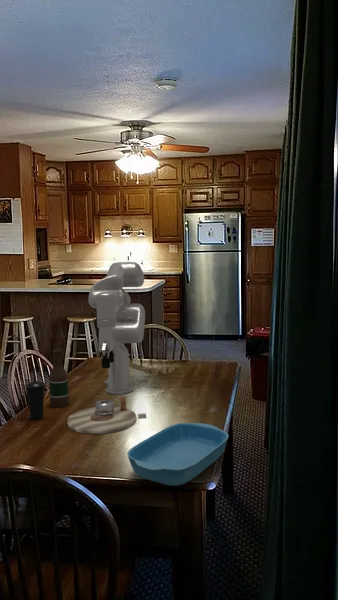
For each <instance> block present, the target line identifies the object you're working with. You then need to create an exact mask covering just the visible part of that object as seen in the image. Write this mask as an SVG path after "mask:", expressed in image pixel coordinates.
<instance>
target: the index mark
mask: <svg viewBox="0 0 338 600" xmlns="http://www.w3.org/2000/svg"><path fill="white" fill-rule="evenodd" d="M137 418H138V419H147V413H146V412H143V413H137Z"/></svg>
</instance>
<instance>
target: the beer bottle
mask: <svg viewBox="0 0 338 600" xmlns="http://www.w3.org/2000/svg"><path fill="white" fill-rule="evenodd" d="M62 352H63V351H62V349H61V348H54V349H52V354H53V358H52V359H53V360H52V369H51V370H50V373H49V376H48V386H49V389H48V390H49V403H50V407H51V408H54V409H62V408H65V407H68V406H69V403H70V402H69V401H70V398H69V397H70V396H69V379H68V373H67V371H66V370H65V369H64V366H63V359H62V357H63V356H62Z"/></svg>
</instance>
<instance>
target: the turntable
mask: <svg viewBox="0 0 338 600" xmlns="http://www.w3.org/2000/svg"><path fill="white" fill-rule="evenodd" d="M95 410H96V407H95V406H93V407H88V408H84V409H81V410H78V411H75V412H73V413H72V414H70V415H69V416H68V417H67V420H66V421H67V427H68V428H69V429H70V430H72V431H74V432H77V433H80V434H87V435H88V434H89V435H102V434H103V435H104V434H111V433H116V432H120V431H124V430H126V429H129V428H131V427H132V426H134V424H136V421H137V414H136V412H134V411H133V410H131V409H129V408H127V397H126V396H121V397H120V406H114V413H113V414H111V415H107V416H99V415H96V414H95Z"/></svg>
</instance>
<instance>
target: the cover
mask: <svg viewBox="0 0 338 600" xmlns="http://www.w3.org/2000/svg"><path fill="white" fill-rule="evenodd" d="M94 403H95V405H94V407H96V410H95V414H96V415H99V416H107V415H111V414H113V413H114V407H115V406H114V401H113V400H110V399H101V400H100V399H99V400H96V402H94Z"/></svg>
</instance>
